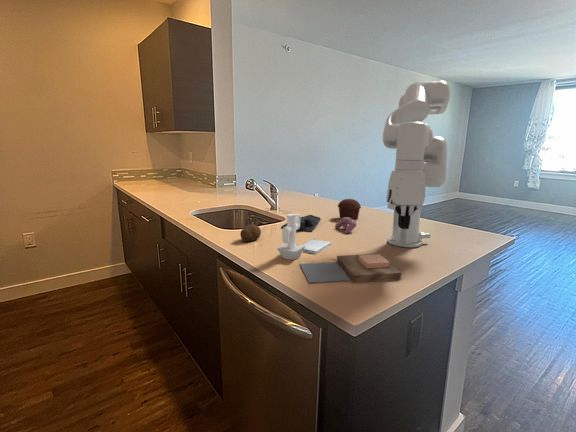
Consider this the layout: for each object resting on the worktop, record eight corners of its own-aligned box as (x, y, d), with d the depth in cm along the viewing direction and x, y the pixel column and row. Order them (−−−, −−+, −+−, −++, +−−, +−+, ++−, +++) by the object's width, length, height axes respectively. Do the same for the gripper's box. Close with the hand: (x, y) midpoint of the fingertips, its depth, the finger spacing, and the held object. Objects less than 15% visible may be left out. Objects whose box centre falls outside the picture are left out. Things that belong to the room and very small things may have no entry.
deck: (377, 259, 107) (377, 253, 107) (400, 279, 92) (401, 272, 91) (336, 261, 105) (337, 255, 105) (353, 282, 90) (354, 275, 89)
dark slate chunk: (325, 222, 158) (326, 213, 157) (310, 234, 138) (310, 223, 137) (297, 219, 164) (297, 210, 163) (278, 230, 144) (278, 219, 143)
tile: (379, 258, 102) (379, 254, 102) (389, 267, 95) (389, 262, 95) (358, 259, 101) (358, 255, 101) (366, 268, 94) (367, 263, 94)
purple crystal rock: (353, 236, 138) (359, 221, 138) (345, 233, 136) (352, 218, 136) (341, 230, 147) (347, 217, 147) (333, 227, 145) (340, 213, 145)
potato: (236, 241, 126) (235, 226, 125) (251, 235, 134) (251, 221, 133) (249, 244, 123) (248, 228, 121) (264, 238, 131) (264, 223, 129)
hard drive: (312, 238, 127) (296, 247, 116) (331, 242, 122) (316, 250, 112) (312, 242, 127) (296, 251, 117) (331, 246, 123) (316, 255, 112)
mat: (336, 262, 104) (336, 261, 104) (350, 280, 91) (350, 279, 90) (299, 264, 102) (299, 263, 102) (309, 283, 89) (309, 282, 89)
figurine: (275, 259, 107) (274, 215, 104) (289, 251, 115) (289, 210, 112) (294, 263, 103) (294, 218, 100) (307, 254, 111) (307, 212, 108)
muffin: (362, 217, 167) (363, 198, 164) (358, 222, 157) (359, 202, 154) (340, 215, 171) (340, 197, 169) (334, 220, 161) (335, 200, 159)
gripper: (425, 165, 98) (419, 224, 101) (378, 165, 95) (374, 225, 99) (440, 167, 90) (433, 230, 94) (390, 167, 88) (385, 231, 92)
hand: (403, 227), depth 96 cm, fingers closed
